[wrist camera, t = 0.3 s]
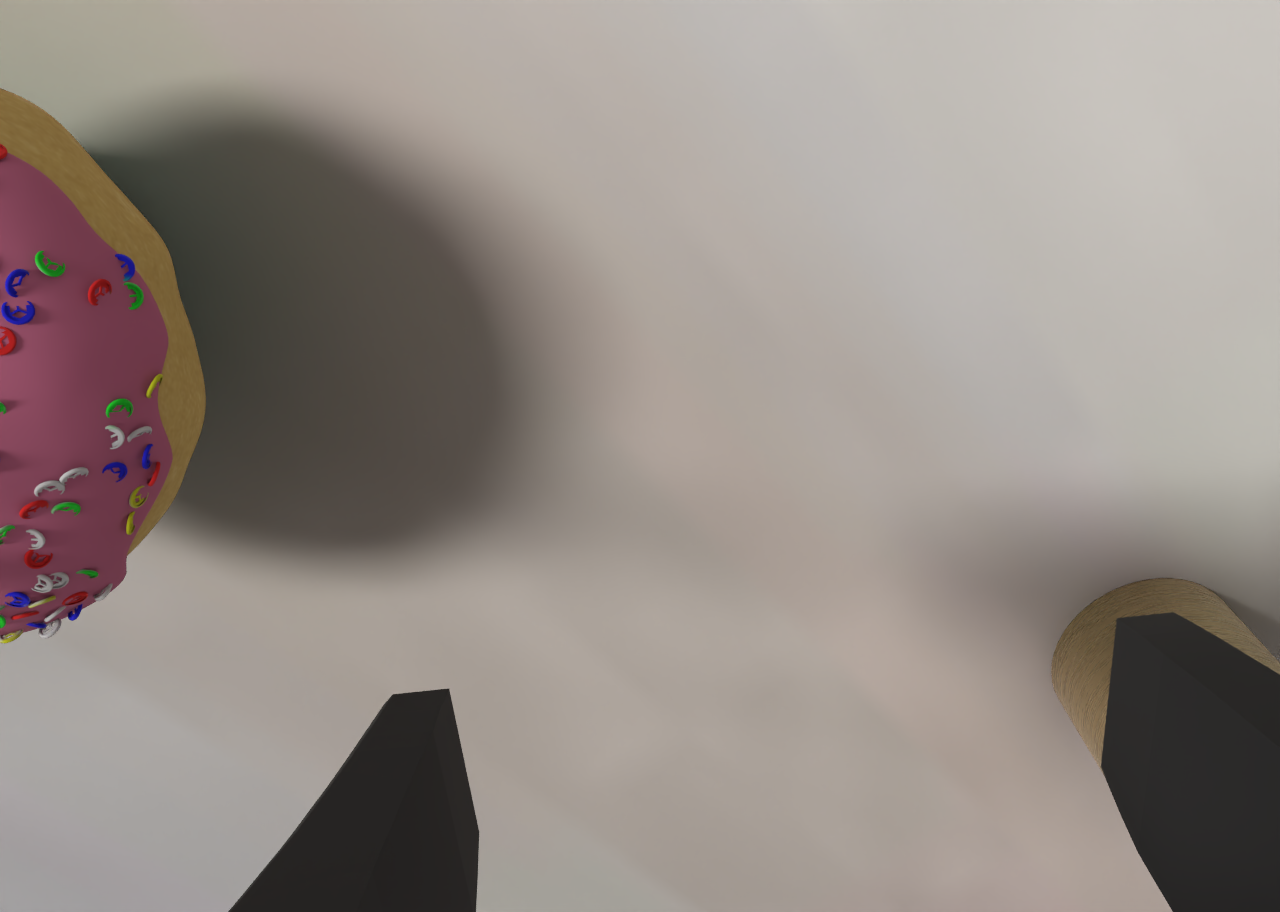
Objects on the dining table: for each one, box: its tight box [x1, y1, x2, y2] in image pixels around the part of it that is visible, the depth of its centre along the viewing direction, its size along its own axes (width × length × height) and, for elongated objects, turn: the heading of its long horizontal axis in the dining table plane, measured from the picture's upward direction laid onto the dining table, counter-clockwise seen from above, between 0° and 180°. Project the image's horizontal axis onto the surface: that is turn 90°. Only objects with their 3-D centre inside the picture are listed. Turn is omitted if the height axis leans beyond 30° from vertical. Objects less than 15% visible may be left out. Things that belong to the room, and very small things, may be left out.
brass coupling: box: [1051, 578, 1280, 774], centre depth 21 cm, size 4×4×7 cm
